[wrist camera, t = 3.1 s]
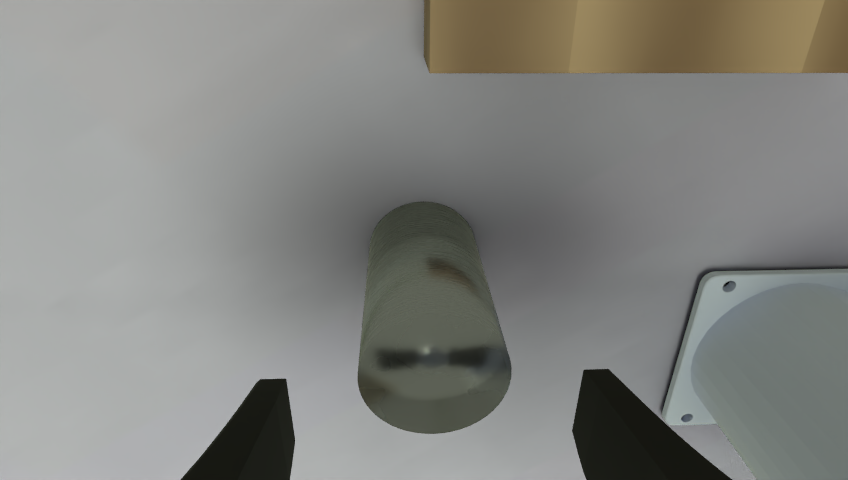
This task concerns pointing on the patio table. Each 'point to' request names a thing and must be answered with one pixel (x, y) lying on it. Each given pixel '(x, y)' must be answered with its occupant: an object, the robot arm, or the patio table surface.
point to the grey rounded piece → (429, 324)
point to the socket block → (636, 36)
